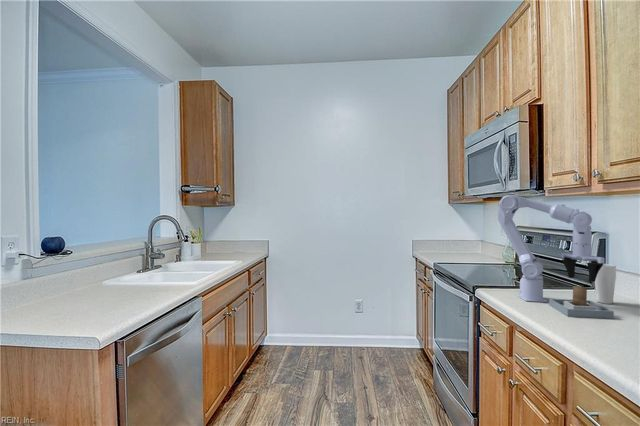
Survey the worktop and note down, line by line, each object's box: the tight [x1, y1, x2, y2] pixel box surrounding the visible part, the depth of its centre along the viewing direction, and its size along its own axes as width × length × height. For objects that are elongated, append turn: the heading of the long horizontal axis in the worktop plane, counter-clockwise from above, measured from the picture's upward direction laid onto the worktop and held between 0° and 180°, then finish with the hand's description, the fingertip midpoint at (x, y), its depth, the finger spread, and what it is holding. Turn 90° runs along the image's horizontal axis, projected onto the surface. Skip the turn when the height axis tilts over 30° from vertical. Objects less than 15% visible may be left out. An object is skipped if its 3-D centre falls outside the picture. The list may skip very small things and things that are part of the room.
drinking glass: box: [594, 263, 617, 305], centre depth 138 cm, size 7×7×15 cm
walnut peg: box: [572, 285, 588, 306], centre depth 127 cm, size 4×4×8 cm
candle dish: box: [548, 298, 615, 320], centre depth 127 cm, size 14×14×3 cm
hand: (581, 279), depth 133 cm, fingers open, 7 cm apart
